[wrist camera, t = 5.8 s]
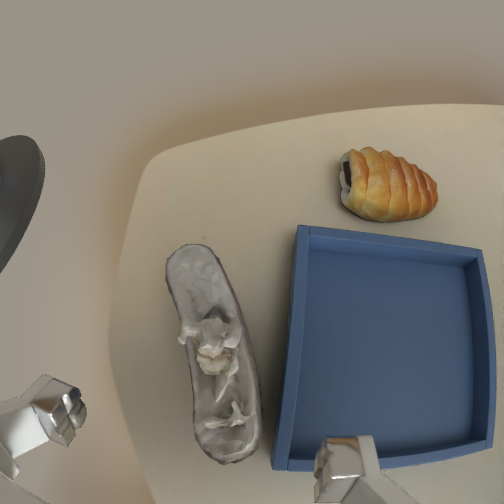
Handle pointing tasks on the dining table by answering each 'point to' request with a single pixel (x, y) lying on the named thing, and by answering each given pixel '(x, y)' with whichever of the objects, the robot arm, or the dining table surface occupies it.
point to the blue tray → (386, 349)
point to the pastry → (385, 186)
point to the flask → (216, 355)
